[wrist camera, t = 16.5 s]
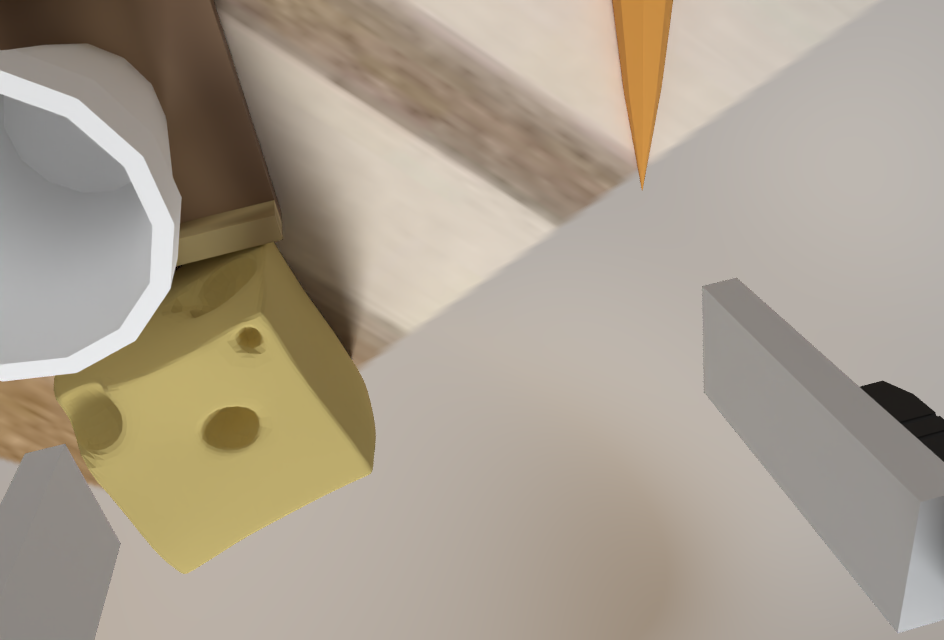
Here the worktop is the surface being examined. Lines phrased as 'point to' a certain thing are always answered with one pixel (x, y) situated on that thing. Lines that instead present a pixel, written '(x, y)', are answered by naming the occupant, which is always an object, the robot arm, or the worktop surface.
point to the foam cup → (80, 208)
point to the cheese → (222, 409)
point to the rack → (176, 107)
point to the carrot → (642, 66)
